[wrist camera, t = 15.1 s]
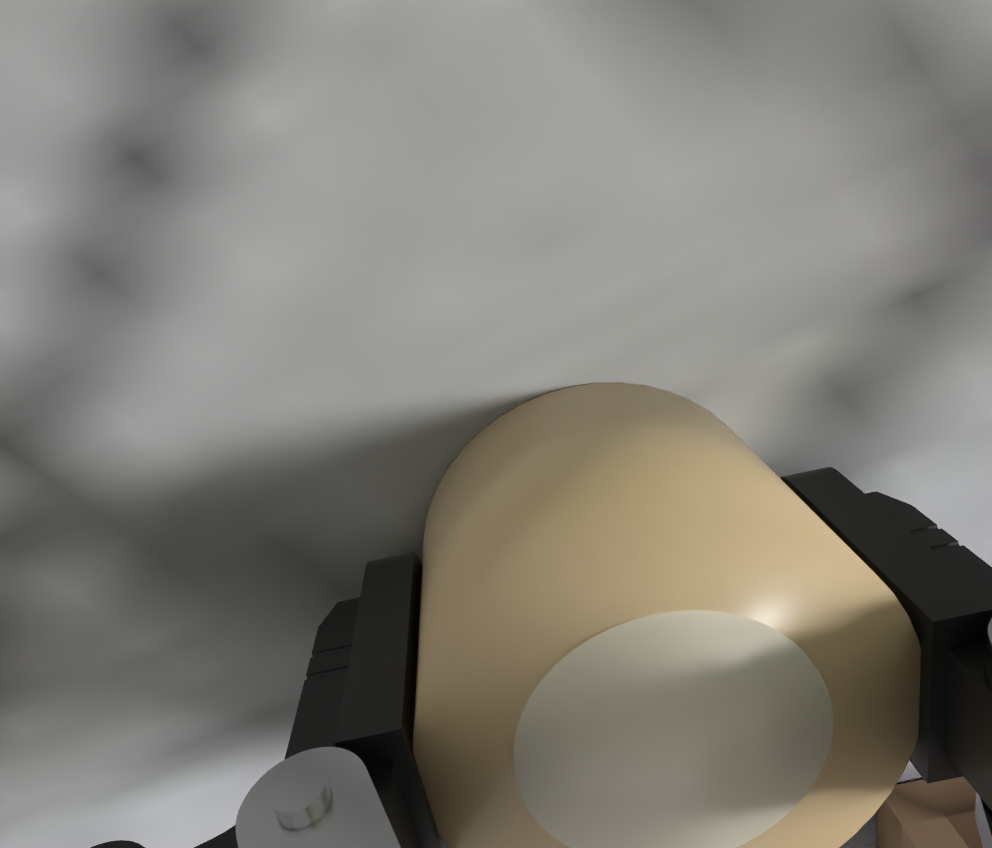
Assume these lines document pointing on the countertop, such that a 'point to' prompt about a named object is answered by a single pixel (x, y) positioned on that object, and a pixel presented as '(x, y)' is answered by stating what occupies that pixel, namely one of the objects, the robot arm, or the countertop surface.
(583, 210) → the countertop surface
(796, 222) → the countertop surface
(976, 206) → the countertop surface
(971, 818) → the box
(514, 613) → the domed cream knob
